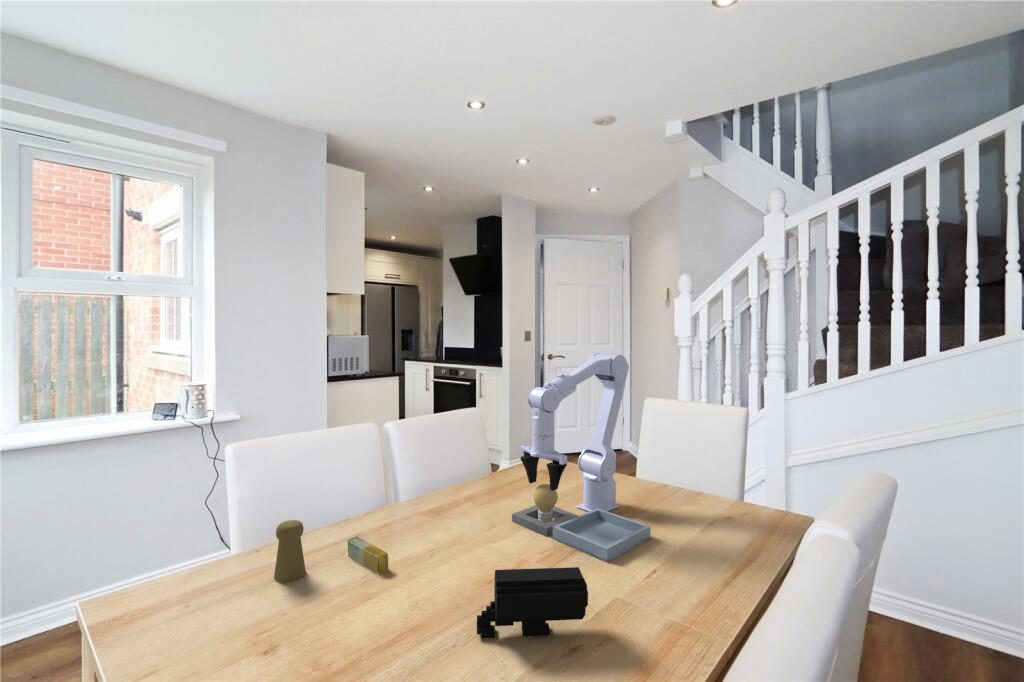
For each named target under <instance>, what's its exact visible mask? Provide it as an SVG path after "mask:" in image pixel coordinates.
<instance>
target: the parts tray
mask: <svg viewBox="0 0 1024 682" xmlns="http://www.w3.org/2000/svg"><path fill="white" fill-rule="evenodd" d="M651 527H652V526H650V525H647V524H645V523H641V522H639V521H636V520H633V519H630V518H627V517H625V516H621V515H618V514H616V513H612V512H611V511H608V512H607V511H605V510H602V509H599V508H597V509H594V510H592V511H589V512H588V511H586V512H585V513H582V514H580V515H579V516H577V517H575V518H572V519H570V520H568V521H565V522H563V523H560V524H558V525H555V526H553V534H552V540H554V541H557V542H559V543H562V544H564V545H565V546H568V547H569V548H570V547H571V548H572V549H575V550H577V551H580V552H582V553H584V554H587V555H589V556H590V557H594V558H596V559H598V560H600V561H602V562H605V563H608V562H610V561H612V560H614V559H616V558H618V557H619V556H622V555H623V554H625V553H627V552H628V551H630V550H632V549H634V548H635V547H638V546H640V545H641V544H643V543H645V542H648V541H649V540H651V536H652V535H651V531H652V528H651Z"/></svg>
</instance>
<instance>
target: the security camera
mask: <svg viewBox="0 0 1024 682" xmlns="http://www.w3.org/2000/svg"><path fill="white" fill-rule="evenodd" d="M493 582H494V583H493V584H494V591H493V592H494V593H493V596H494V600H493V601H491V600H490V605H486V606H485V610H481V614H479V615H478V614H477V615H476V635H481V636H480V638H481V639H482V638H488V639H496V627H508V626H514V625H515V624H514V623H521V633H522V634H521V635H522V637H523V636H526V637H525V638H527V637H528V636H533V637H549V636H548V635H550V636H551V628H550V625H549V623H548V621H550V622H552V621H576V620H577V621H578V620H584V618H585V617H586V611H587V610H586V608H587V607H588V605H589V591H588V584H587V582H586V579H585V577H584V576H583V574H582V572H581V570H580V567H579V566H578V567H575V566H573V567H547V568H543V567H541V568H518V569H517V568H514V569H509V568H507V569H495V570H494V581H493ZM491 623H494V624H493V625H492V624H491ZM528 638H529V637H528Z"/></svg>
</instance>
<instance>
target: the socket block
mask: <svg viewBox="0 0 1024 682" xmlns="http://www.w3.org/2000/svg"><path fill="white" fill-rule="evenodd" d="M538 510H539V508H538V507H537V505H536V504H535V505H533V506H530V507H528V508H524V509H522V510H519V511H517V512H513V513H512V514H511V522H512V523H514V524H517V525H519V526H522V527H524V528H526V529H528V530H530V531H532V532H535V533H537V534H539V535H541V536H544V537H546V538H547V537H549V536H551V535H553V526H555V525H558V524H560V523H563V522H565V521H568V520H570V519H572V518H575V517H577V516H580V515H579V514H576V513H574V512H572V511H571V512H570V511H567V510H565V509H562V508H559V507H557V506H556V505H555V506H554V507H553V508H552V521H550V522H547V523H545V522H542V521H540V520H538Z"/></svg>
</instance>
